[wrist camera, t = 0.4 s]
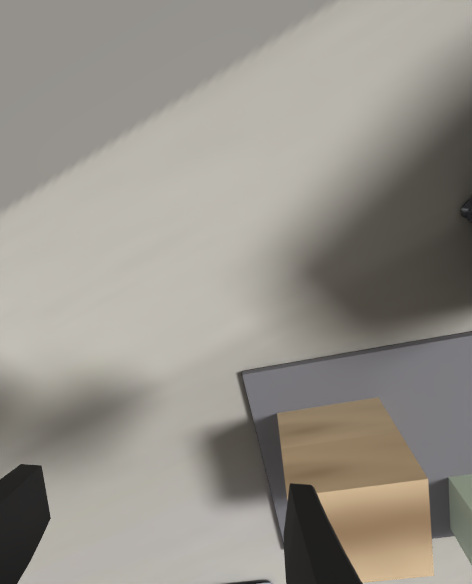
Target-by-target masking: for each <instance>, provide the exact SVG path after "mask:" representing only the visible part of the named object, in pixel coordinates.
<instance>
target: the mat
mask: <svg viewBox="0 0 472 584" xmlns="http://www.w3.org/2000/svg"><path fill="white" fill-rule="evenodd" d="M242 376H243V380H244V384H245V388H246V392H247V396H248V400H249V404H250V408H251V412H252V416H253V420H254V424H255V429H256V433H257V437H258V441H259V445H260V449H261V453H262V457H263V461H264V465H265V469H266V473H267V477H268V481H269V485H270V489H271V493H272V498H273V502H274V506H275V510H276V514H277V518H278V522H279V526H280V530H281V534H282V538H283V542H284V537H283V535H284V527H285V518H286V510H287V502H288V500H287V494H286V485H285V477H284V468H283V460H282V451H281V443H280V434H279V426H278V418H277V413H282V412H288V411H294V410H301V409H307V408H314V407H320V406H326V405H333V404H339V403H345V402H352V401H358V400H365V399H371V398H377V397H378V398H379V399H380V401H381V403H382V404H383V406H384V407H385V409H386V411H387V412H388V414H389V416H390V417H391V419H392V421H393V422H394V424H395V425H396V427H397V429H398V430H399V432H400V434H401V435H402V437H403V439H404V440H405V442H406V444H407V445H408V447H409V448H410V450H411V452H412V453H413V455H414V457H415V458H416V460H417V462H418V463H419V465H420V466H421V468H422V470H423V471H424V473H425V475H426V476H427V478H428V486H429V503H430V519H431V536H432V538H441V537H450V536H454V534H453V532H452V531H451V529H450V506H449V478H448V477H454V476H462V475H470V474H472V332H466V333H461V334H455V335H449V336H443V337H437V338H432V339H426V340H420V341H414V342H408V343H403V344H397V345H391V346H385V347H379V348H374V349H368V350H362V351H356V352H350V353H345V354H339V355H333V356H327V357H321V358H316V359H310V360H304V361H298V362H292V363H287V364H281V365H275V366H269V367H263V368H258V369H252V370H246V371H242Z"/></svg>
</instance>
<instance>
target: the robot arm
mask: <svg viewBox="0 0 472 584" xmlns="http://www.w3.org/2000/svg"><path fill="white" fill-rule="evenodd" d="M49 520H50V512H49V506H48V500H47V495H46V489H45V483H44V477H43V472H42V466H39V465H25V464H21V465H19V466H18V467H17V468H15V469H14V470H12V471H11V472H10V473H8V474H7V475H6V476H4V477H3V478H2V479H0V584H17V583H18V581H19V579H20V578H21V576H22V574H23V573H24V571H25V569H26V568H27V566H28V564H29V562H30V561H31V559H32V557H33V554H34V552H35V550H36V548H37V546H38V544H39V542H40V540H41V538H42V536H43V534H44V531H45V529H46V527H47V525H48V523H49ZM283 537H284V555H285V571H286V583H287V584H363V583H362V582H361V580H360V578H359V576H358V575H357V573H356V571H355V569H354V567H353V565H352V564H351V562H350V560H349V558H348V556H347V554H346V553H345V551H344V549H343V547H342V545H341V543H340V541H339V539H338V537H337V535H336V533H335V531H334V529H333V527H332V525H331V523H330V521H329V519H328V517H327V515H326V513H325V511H324V509H323V506H322V504H321V502H320V500H319V497H318V495H317V493H316V490H315V488H314V487H313V486H312V485H308V484H294V483H290V486H289V494H288V502H287V510H286V518H285V527H284V535H283ZM258 584H272V583H258Z"/></svg>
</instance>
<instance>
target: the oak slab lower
mask: <svg viewBox="0 0 472 584" xmlns="http://www.w3.org/2000/svg"><path fill="white" fill-rule="evenodd" d="M277 418H278V426H279V434H280V443H281V449H282V448H289V447H296V446H303V445H309V444H316V443H323V442H330V441H337V440H344V439H351V438H358V437H365V436H372V435H378V434H385V433H392V432H399V430H398V429H397V427H396V425H395V424H394V422H393V421H392V419H391V417H390V416H389V414H388V412H387V411H386V409H385V407H384V406H383V404H382V403H381V401H380V399H379V398H378V397H377V398H371V399H365V400H358V401H352V402H345V403H339V404H333V405H326V406H320V407H314V408H307V409H301V410H294V411H288V412H282V413H277Z"/></svg>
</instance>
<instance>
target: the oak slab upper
mask: <svg viewBox="0 0 472 584" xmlns="http://www.w3.org/2000/svg"><path fill="white" fill-rule="evenodd" d="M281 451H282V460H283V468H284V477H285V485H286V494H287V500H288V494H289V486H290V483H294V484H308V485H312V486H313V487H314V488H315V490H316V493H317V495H318V497H319V500H320V502H321V504H322V506H323V509H324V511H325V513H326V515H327V517H328V519H329V521H330V523H331V525H332V527H333V529H334V531H335V533H336V535H337V537H338V539H339V541H340V543H341V545H342V547H343V549H344V551H345V553H346V554H347V556H348V558H349V560H350V562H351V564H352V565H353V567H354V569H355V571H356V573H357V575H358V576H359V578H360V580H361V582H362V583H364V582H374V581H384V580H394V579H405V578H415V577H425V576H434V570H433V553H432V536H431V519H430V503H429V486H428V478H427V476H426V475H425V473H424V471H423V470H422V468H421V466H420V465H419V463H418V462H417V460H416V458H415V457H414V455H413V453H412V452H411V450H410V448H409V447H408V445H407V444H406V442H405V440H404V439H403V437H402V435H401V434H400V432H392V433H385V434H378V435H372V436H365V437H358V438H351V439H344V440H337V441H330V442H323V443H316V444H309V445H303V446H296V447H289V448H282V449H281Z"/></svg>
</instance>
